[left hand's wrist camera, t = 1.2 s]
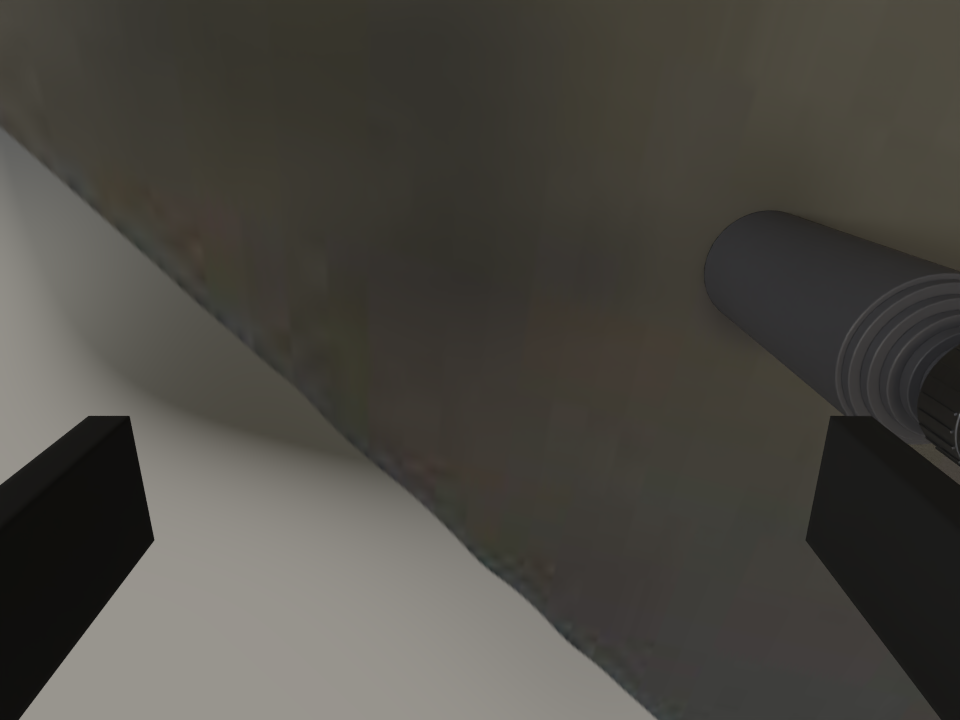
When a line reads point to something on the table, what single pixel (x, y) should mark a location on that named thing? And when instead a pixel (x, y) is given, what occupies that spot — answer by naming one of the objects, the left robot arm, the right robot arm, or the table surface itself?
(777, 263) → the bottle
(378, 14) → the table surface
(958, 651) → the left robot arm
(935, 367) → the cap
